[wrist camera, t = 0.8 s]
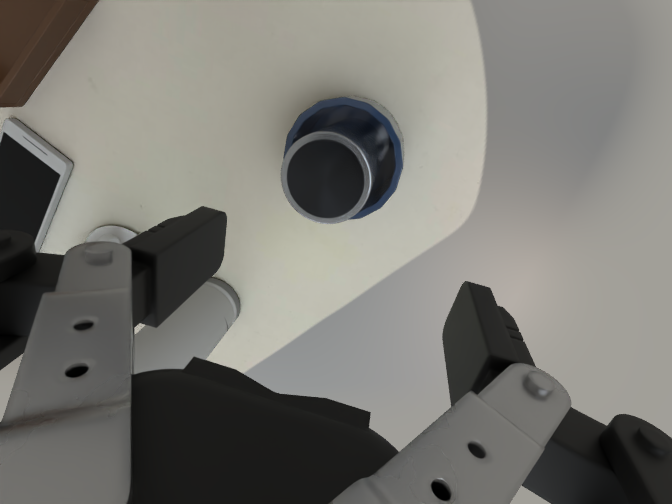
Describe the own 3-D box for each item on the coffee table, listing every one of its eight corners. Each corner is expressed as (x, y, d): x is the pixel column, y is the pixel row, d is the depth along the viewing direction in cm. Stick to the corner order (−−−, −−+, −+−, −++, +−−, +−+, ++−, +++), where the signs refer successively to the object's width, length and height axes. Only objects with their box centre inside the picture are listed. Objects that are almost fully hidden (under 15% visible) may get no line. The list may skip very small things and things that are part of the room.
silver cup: (328, 110, 30) (288, 120, 20) (392, 127, 29) (383, 146, 19) (315, 173, 32) (273, 210, 22) (374, 190, 32) (357, 235, 22)
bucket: (316, 85, 30) (295, 83, 24) (417, 111, 29) (419, 116, 24) (297, 184, 33) (275, 202, 28) (386, 209, 33) (382, 233, 27)
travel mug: (253, 316, 41) (130, 494, 23) (207, 329, 43) (61, 501, 25) (226, 268, 39) (69, 422, 21) (179, 285, 41) (-1, 437, 23)
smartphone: (-18, 224, 42) (-27, 226, 42) (13, 116, 36) (3, 116, 35) (35, 261, 43) (27, 265, 43) (75, 163, 37) (67, 165, 36)
